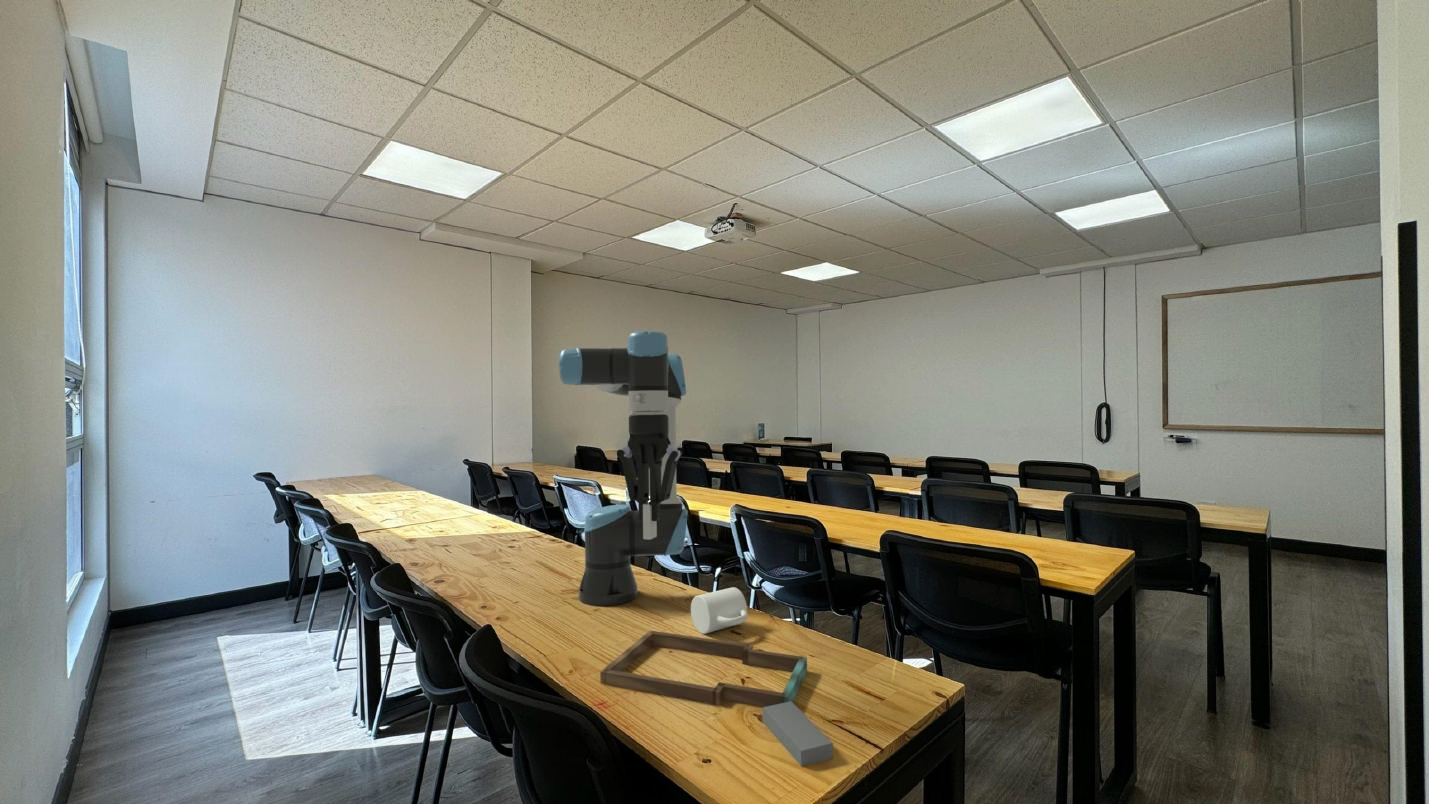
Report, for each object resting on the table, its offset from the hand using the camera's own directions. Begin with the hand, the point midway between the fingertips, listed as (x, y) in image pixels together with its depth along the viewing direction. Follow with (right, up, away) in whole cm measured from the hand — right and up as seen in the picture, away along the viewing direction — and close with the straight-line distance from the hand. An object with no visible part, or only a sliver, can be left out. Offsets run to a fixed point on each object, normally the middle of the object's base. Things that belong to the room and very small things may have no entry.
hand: (650, 537), depth 109 cm
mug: (+14, -25, +17) cm, 33 cm away
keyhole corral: (+11, -24, -4) cm, 27 cm away
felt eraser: (+24, -25, -25) cm, 42 cm away
